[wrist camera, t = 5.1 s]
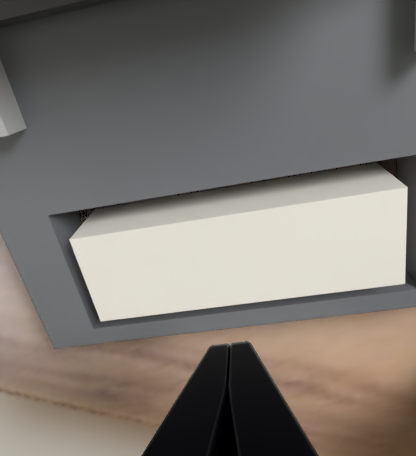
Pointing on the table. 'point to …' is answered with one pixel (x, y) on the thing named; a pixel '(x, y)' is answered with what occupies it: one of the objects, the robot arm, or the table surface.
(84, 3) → the slider paddle
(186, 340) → the table surface
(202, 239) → the button white
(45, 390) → the table surface
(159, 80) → the panel
